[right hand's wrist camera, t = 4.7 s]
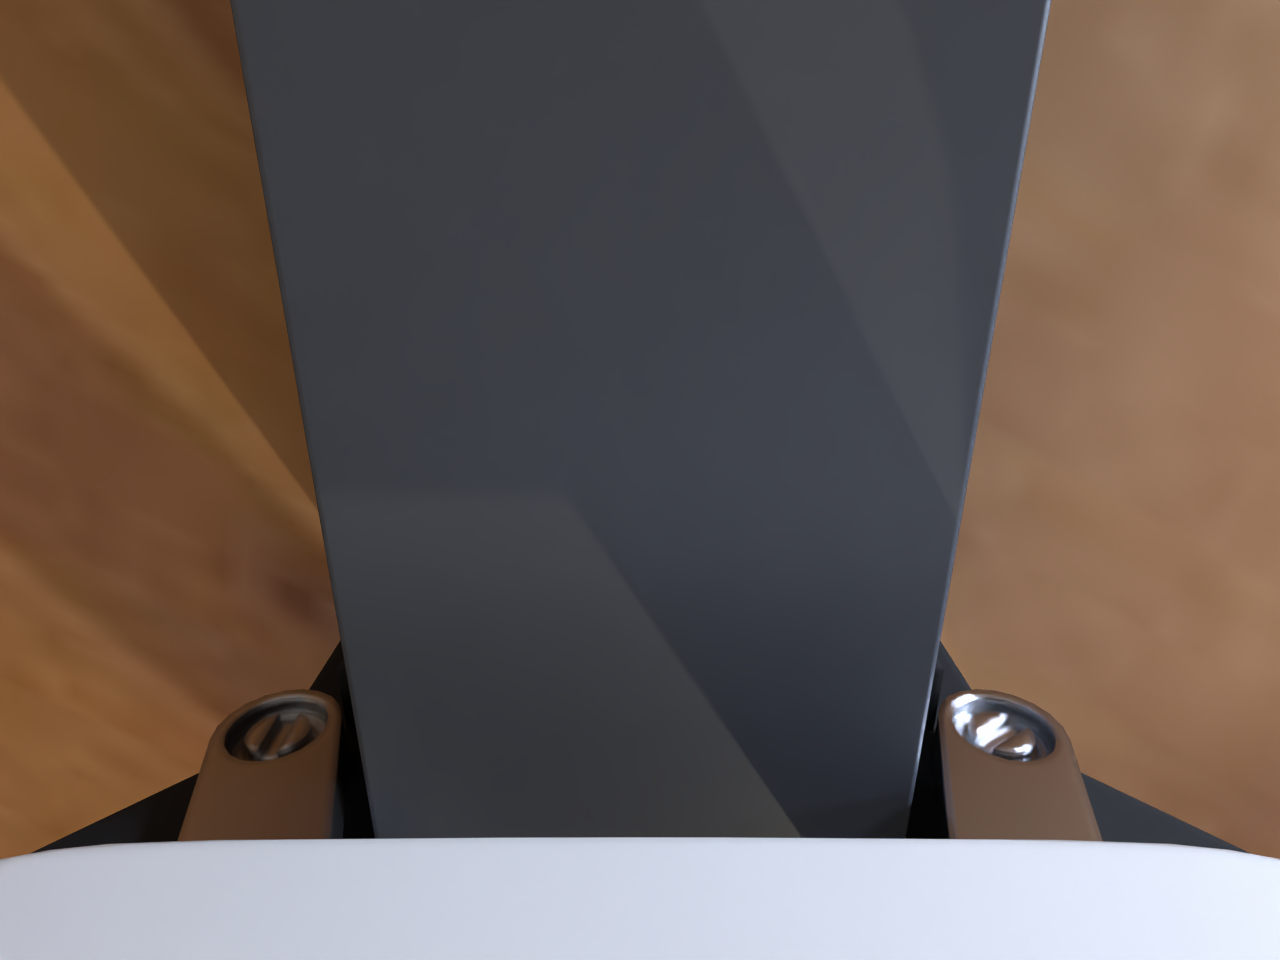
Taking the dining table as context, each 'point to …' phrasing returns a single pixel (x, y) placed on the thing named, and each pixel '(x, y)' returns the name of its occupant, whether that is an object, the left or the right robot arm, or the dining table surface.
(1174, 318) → the dining table surface
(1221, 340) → the dining table surface
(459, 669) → the beam
